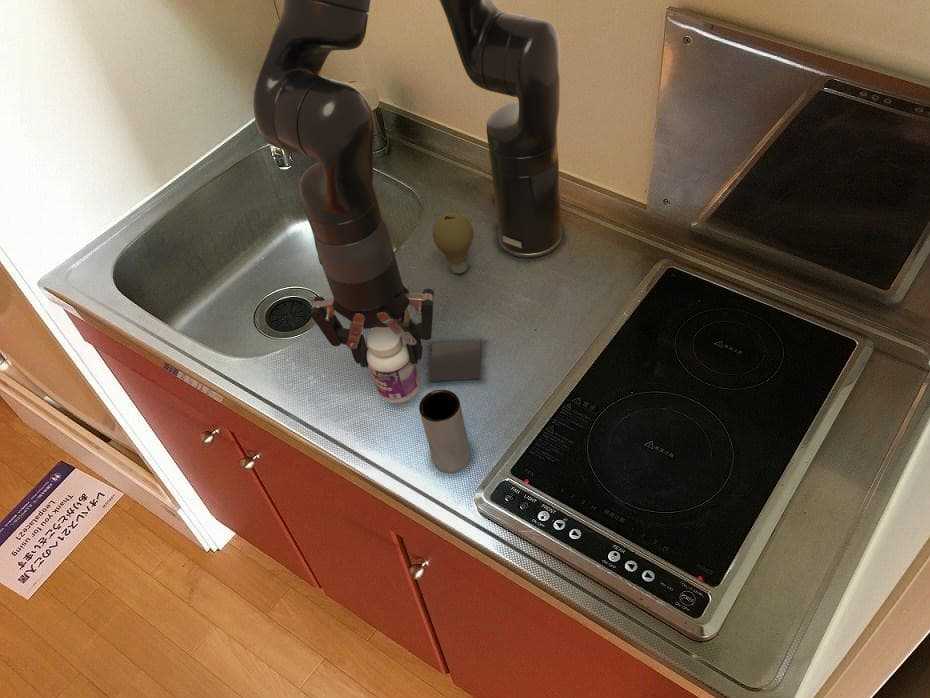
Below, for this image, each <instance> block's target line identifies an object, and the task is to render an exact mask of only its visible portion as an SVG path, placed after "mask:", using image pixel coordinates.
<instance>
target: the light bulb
mask: <svg viewBox="0 0 930 698" xmlns="http://www.w3.org/2000/svg"><path fill="white" fill-rule="evenodd" d="M432 239H433V241H434V244H435V246H436V247H437V248H438V250H439V251H441V252H442V254H443V255H444V256H445V258H446V260H447V261H448V262H449V267H450V270H451V272H453V273H454V274H462V273H464V272H466V271H467V270H468V266H469V265H468V260H467V258H468V255H469V249H470V247H471V245H472V243H473V239H474V228H473V225H472V223H471V221H470V220H469V219H468V218H467V217H466V216H465V215H463V214H461V213H458V212H454V211H452V212H446V213H444V214H442V215H441V216H439V217H438V218H437V219H436V221H435V222H434V225H433V226H432Z"/></svg>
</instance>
